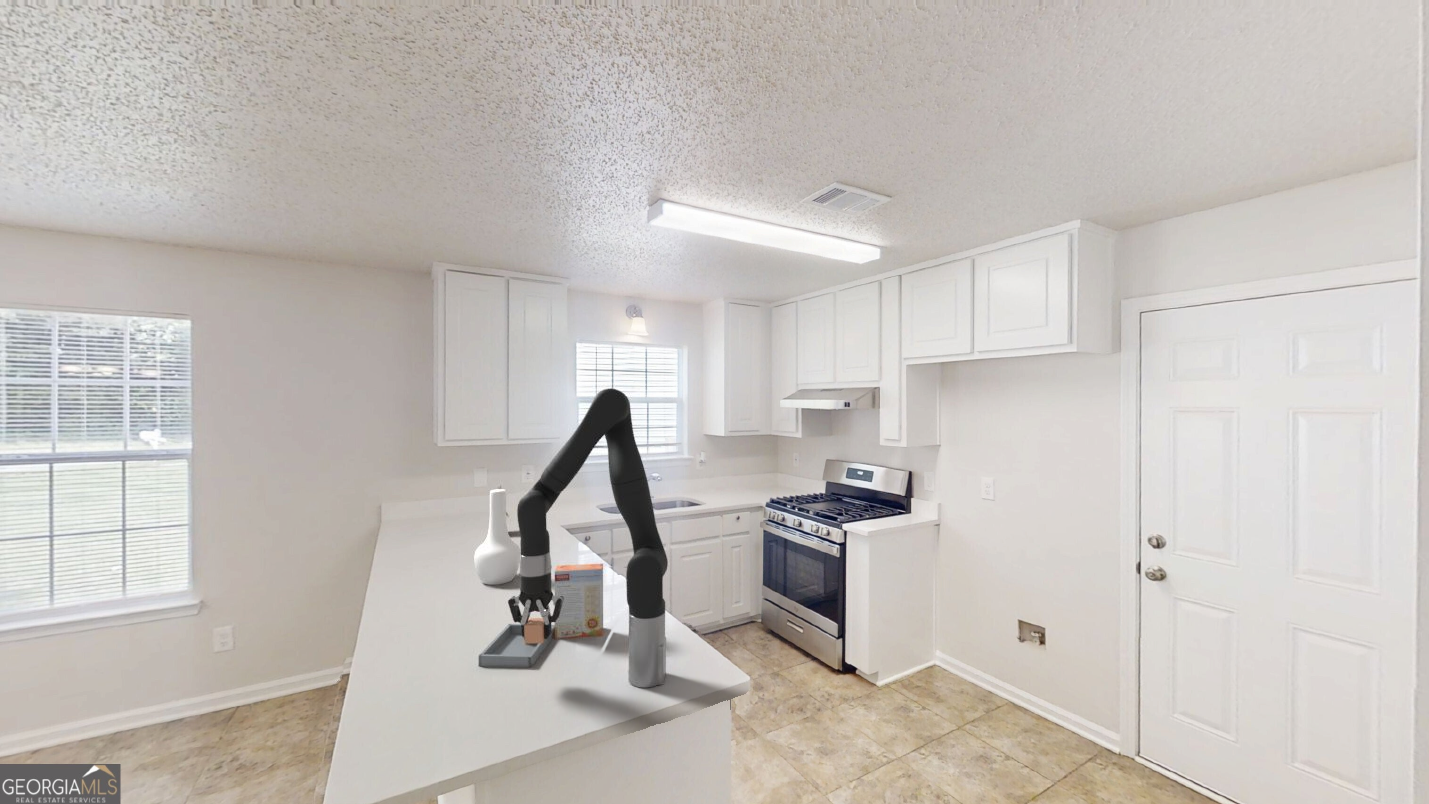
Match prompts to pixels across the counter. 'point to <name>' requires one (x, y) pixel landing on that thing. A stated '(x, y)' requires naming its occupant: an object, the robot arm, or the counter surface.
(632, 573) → the robot arm
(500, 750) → the counter surface
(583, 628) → the cracker box
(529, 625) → the terracotta cube
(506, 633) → the slate tray
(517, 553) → the vase
